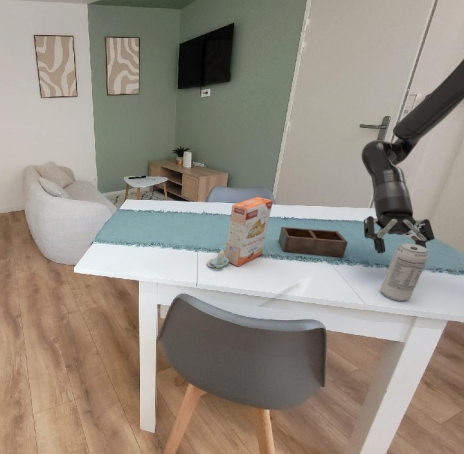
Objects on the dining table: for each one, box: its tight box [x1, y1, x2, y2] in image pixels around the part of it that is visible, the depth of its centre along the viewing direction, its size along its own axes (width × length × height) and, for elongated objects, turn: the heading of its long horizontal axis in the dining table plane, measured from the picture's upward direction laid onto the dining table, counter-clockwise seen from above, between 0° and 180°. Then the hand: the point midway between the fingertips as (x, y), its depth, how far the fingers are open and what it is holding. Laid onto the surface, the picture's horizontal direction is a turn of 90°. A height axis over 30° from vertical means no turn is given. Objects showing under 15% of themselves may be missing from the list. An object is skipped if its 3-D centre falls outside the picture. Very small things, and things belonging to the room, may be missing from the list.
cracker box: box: [224, 196, 274, 267], centre depth 99 cm, size 14×6×21 cm, turn 122°
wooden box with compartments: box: [278, 226, 349, 259], centre depth 105 cm, size 18×10×6 cm, turn 71°
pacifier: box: [206, 249, 229, 269], centre depth 98 cm, size 7×6×6 cm
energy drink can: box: [380, 242, 429, 302], centre depth 77 cm, size 6×6×15 cm
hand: (401, 254), depth 79 cm, fingers open, 8 cm apart
